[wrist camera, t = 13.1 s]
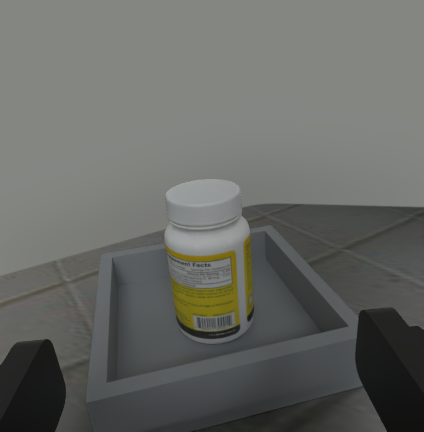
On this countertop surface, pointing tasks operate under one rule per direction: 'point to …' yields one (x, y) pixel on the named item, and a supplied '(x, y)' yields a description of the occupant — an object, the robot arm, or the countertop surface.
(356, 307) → the countertop surface
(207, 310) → the supplement bottle
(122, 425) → the bin
